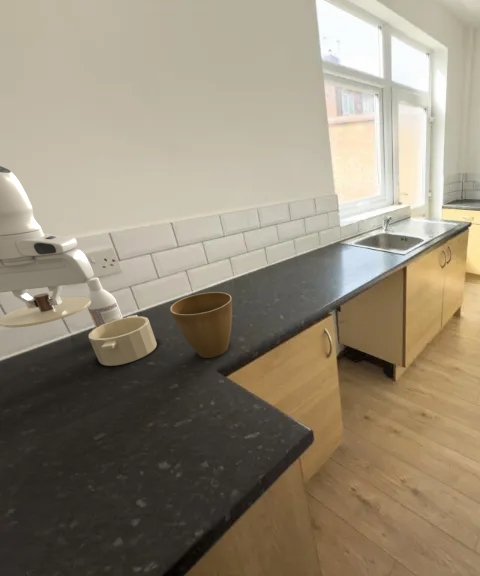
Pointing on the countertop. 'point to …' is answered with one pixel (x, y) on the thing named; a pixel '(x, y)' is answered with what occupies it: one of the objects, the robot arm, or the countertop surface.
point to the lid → (44, 311)
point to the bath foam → (102, 304)
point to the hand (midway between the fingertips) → (46, 305)
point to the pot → (123, 340)
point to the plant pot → (205, 322)
